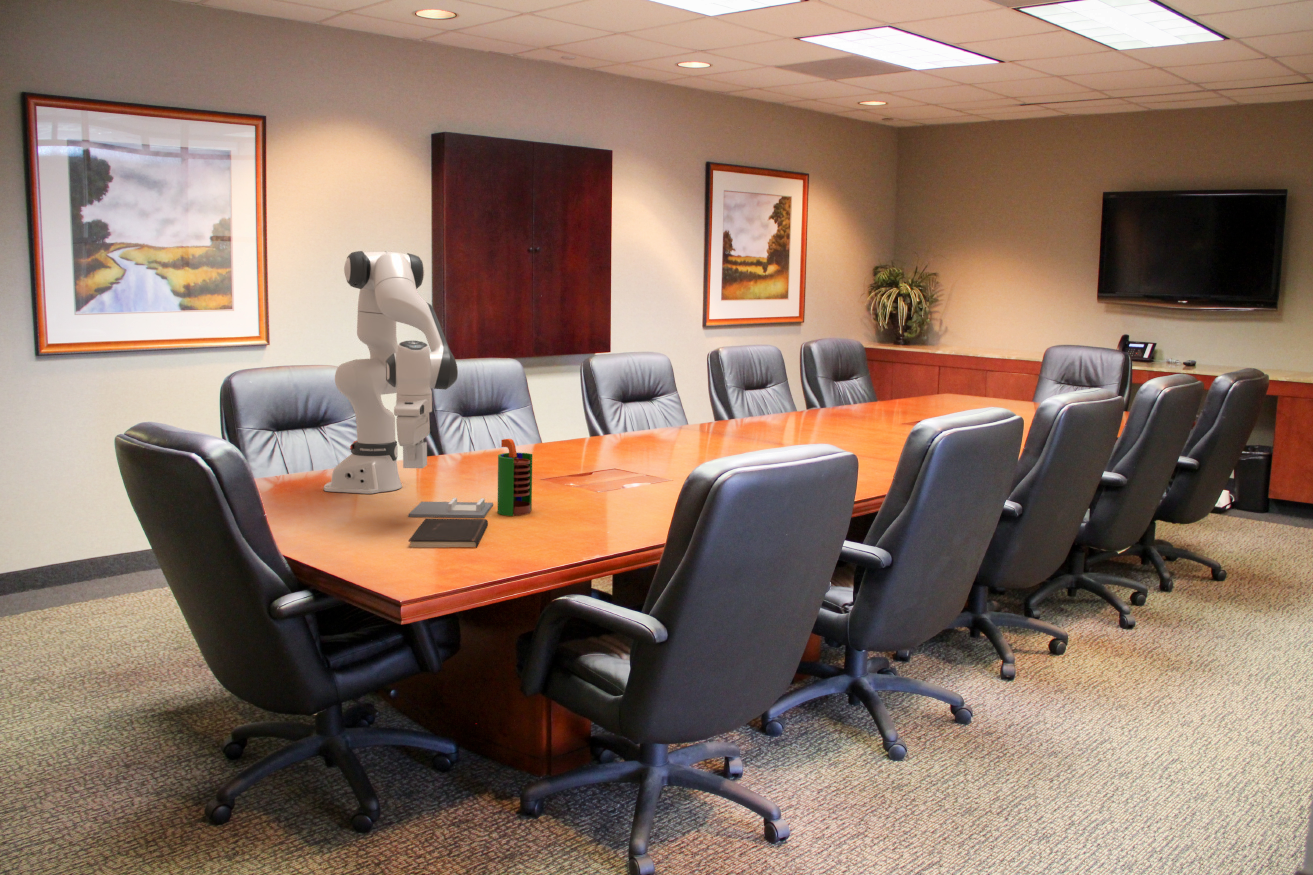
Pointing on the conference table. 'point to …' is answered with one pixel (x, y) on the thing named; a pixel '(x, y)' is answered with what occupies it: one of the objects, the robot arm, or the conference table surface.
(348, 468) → the robot arm
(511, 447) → the motor
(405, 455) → the white cube with knob
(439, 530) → the hardcover book
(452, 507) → the mounting plate
